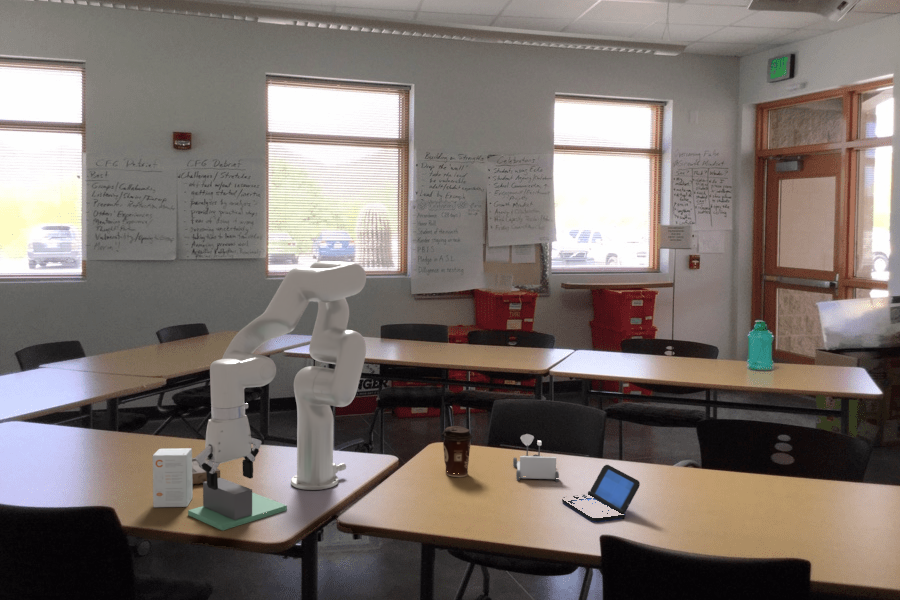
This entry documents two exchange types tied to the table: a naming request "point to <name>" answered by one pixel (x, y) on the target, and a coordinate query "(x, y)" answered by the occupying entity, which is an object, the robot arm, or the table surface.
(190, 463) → the small box
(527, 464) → the toy rover
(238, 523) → the header board
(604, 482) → the laptop
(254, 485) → the table surface
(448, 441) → the coffee cup
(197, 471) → the box
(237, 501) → the block
